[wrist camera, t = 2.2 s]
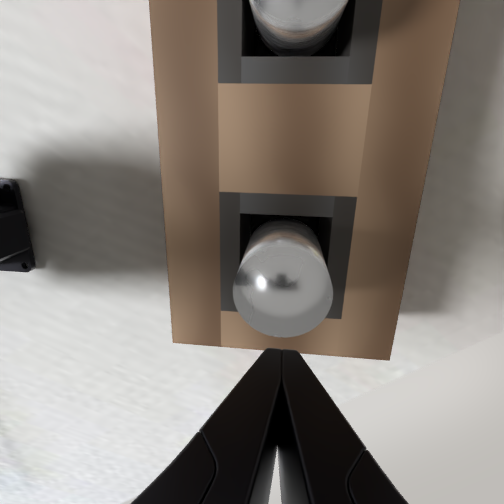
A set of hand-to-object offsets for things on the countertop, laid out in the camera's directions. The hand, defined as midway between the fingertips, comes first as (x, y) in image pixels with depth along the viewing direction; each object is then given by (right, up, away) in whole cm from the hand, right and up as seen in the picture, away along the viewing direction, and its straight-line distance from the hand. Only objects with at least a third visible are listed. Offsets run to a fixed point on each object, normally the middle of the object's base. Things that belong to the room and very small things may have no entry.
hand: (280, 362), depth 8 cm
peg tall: (+1, +3, +8) cm, 9 cm away
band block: (+1, +9, +10) cm, 14 cm away
